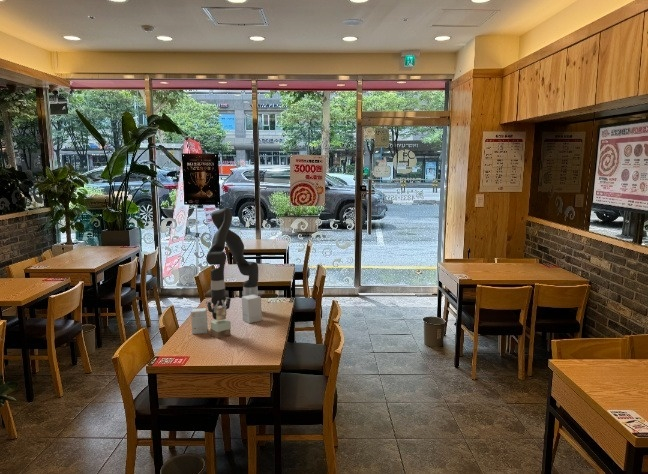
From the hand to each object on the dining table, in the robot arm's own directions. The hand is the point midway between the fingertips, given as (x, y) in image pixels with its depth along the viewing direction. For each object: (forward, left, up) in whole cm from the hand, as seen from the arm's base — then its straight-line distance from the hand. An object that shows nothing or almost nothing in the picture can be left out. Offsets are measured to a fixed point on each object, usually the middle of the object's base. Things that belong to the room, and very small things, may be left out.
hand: (219, 317), depth 251 cm
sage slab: (0, 0, -6) cm, 6 cm away
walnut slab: (0, 0, -10) cm, 10 cm away
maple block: (0, 0, -1) cm, 1 cm away
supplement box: (-27, -11, -10) cm, 31 cm away
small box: (+6, -13, -10) cm, 17 cm away
